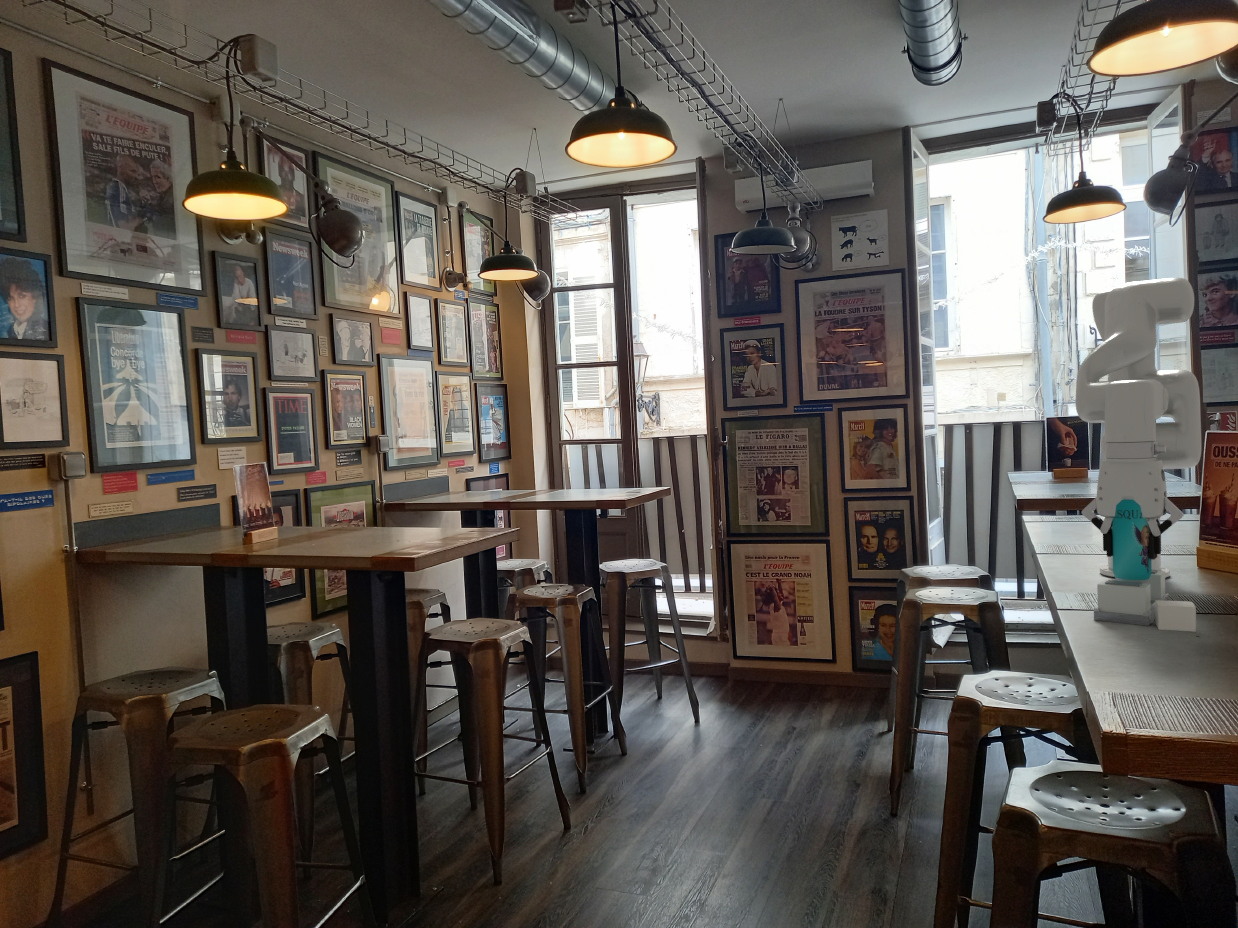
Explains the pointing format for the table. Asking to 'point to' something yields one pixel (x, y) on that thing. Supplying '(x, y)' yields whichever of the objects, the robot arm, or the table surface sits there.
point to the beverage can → (1130, 543)
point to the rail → (1129, 615)
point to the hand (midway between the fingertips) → (1131, 555)
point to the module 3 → (1175, 615)
